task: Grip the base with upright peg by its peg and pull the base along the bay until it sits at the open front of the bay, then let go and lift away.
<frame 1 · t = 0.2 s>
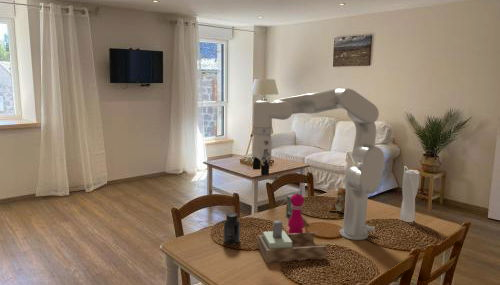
hand: (260, 172, 155), 31 cm above the table, tool pointing down, fingers open, 9 cm apart
bay: (290, 252, 151), on the table
pepper mill: (295, 233, 170), on the table
supplement bottle: (231, 241, 160), on the table
skyscraper: (406, 221, 189), on the table
stuffed squirrel: (342, 211, 202), on the table
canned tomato: (293, 216, 191), on the table
base with upright peg: (277, 236, 148), point 7 cm above the table, slide at 0.0 cm
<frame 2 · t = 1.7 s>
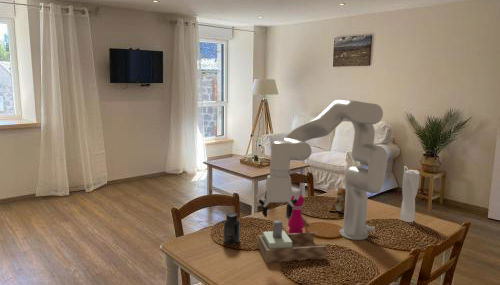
hand: (276, 215, 146), 16 cm above the table, tool pointing down, fingers open, 9 cm apart
nothing on the table moved.
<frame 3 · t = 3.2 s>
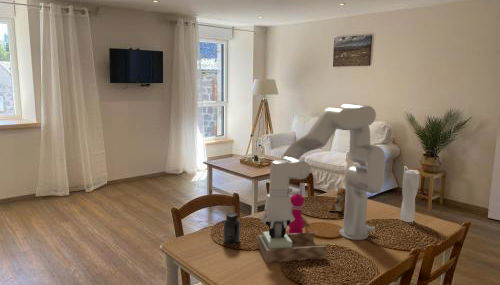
hand: (277, 236, 148), 7 cm above the table, tool pointing down, fingers closed on base with upright peg, 3 cm apart
base with upright peg: (277, 236, 148), point 7 cm above the table, slide at 0.0 cm, touching gripper
everything else where it was.
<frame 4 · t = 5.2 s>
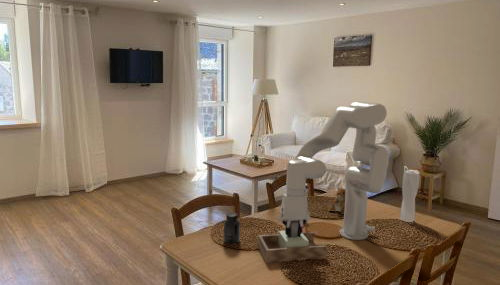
hand: (293, 235, 150), 7 cm above the table, tool pointing down, fingers closed on base with upright peg, 3 cm apart
base with upright peg: (293, 235, 150), point 7 cm above the table, slide at 6.7 cm, touching gripper
everything else where it was.
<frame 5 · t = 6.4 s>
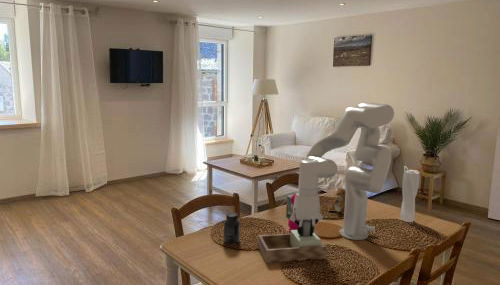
hand: (305, 234, 151), 7 cm above the table, tool pointing down, fingers closed on base with upright peg, 3 cm apart
base with upright peg: (305, 234, 151), point 7 cm above the table, slide at 11.8 cm, touching gripper
everything else where it was.
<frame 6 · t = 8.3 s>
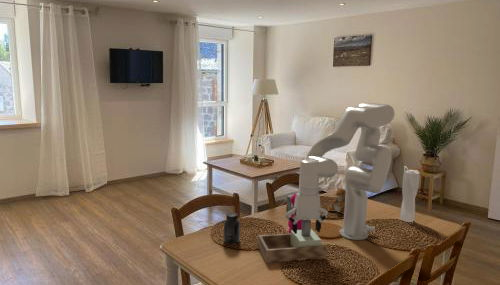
hand: (306, 231, 151), 8 cm above the table, tool pointing down, fingers open, 9 cm apart
base with upright peg: (305, 234, 151), point 7 cm above the table, slide at 12.0 cm
everything else where it was.
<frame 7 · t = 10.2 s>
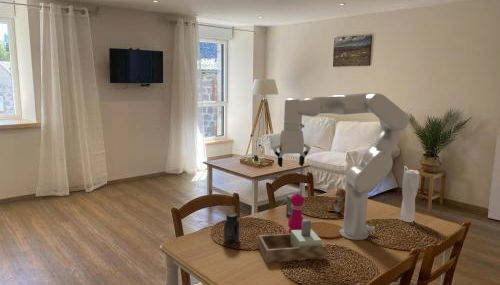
hand: (290, 165, 164), 31 cm above the table, tool pointing down, fingers open, 9 cm apart
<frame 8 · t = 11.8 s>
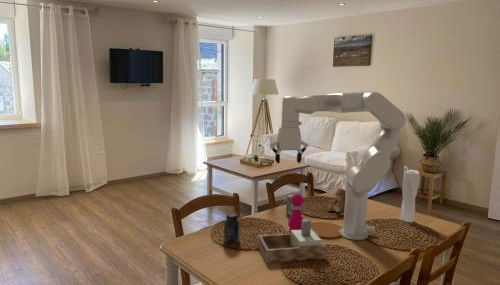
hand: (288, 162, 166), 32 cm above the table, tool pointing down, fingers open, 9 cm apart
at the end: base with upright peg slide at 12.0 cm; the gripper is holding nothing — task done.
